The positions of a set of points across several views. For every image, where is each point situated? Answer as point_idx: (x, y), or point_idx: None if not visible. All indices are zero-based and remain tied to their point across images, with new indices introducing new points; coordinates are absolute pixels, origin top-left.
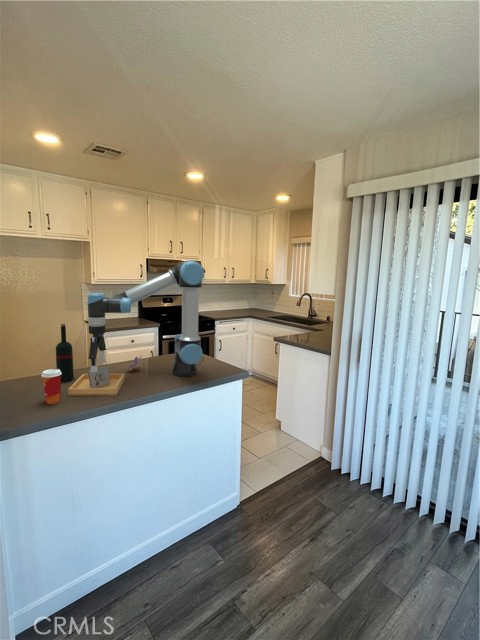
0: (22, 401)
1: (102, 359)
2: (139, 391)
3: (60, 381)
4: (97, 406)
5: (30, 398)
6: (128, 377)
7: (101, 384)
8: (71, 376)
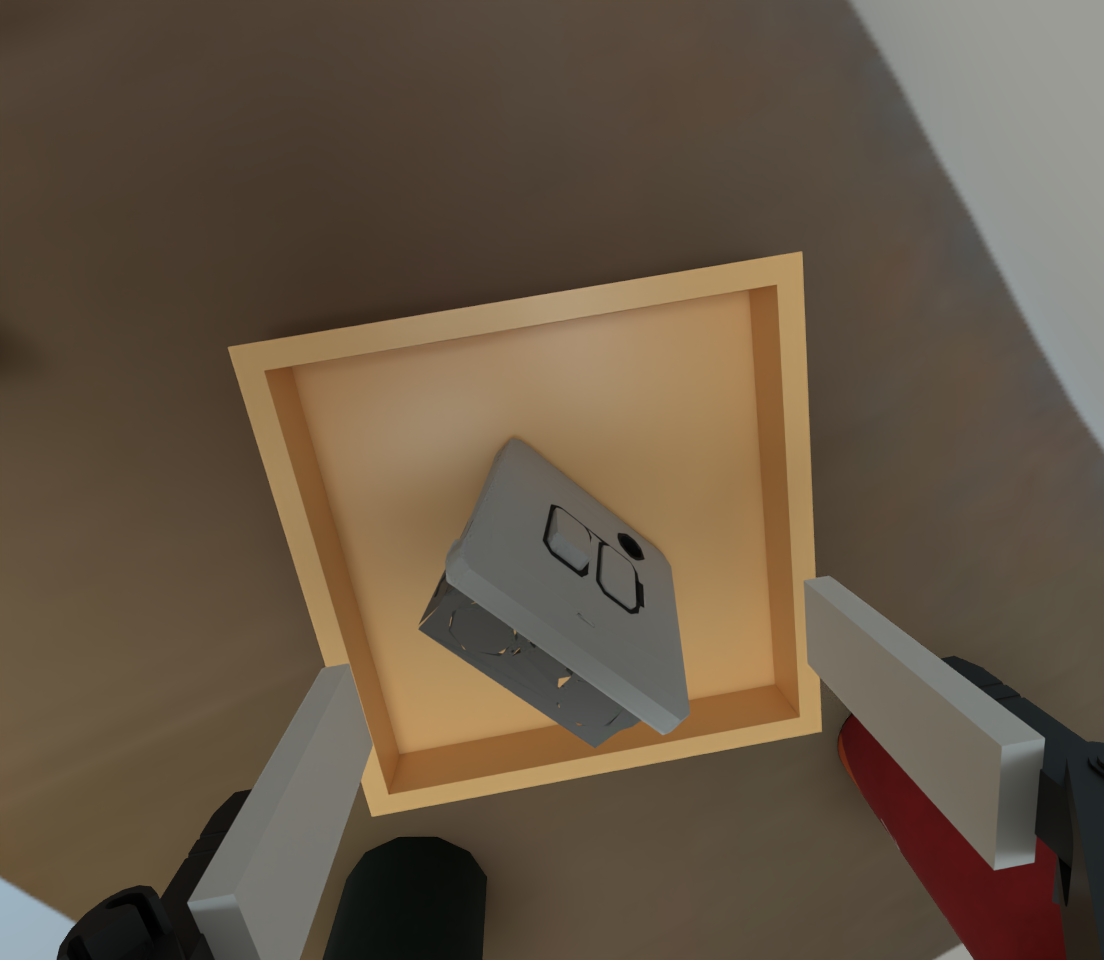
0: (875, 913)
1: (336, 743)
2: (617, 4)
3: (1038, 838)
4: (1009, 343)
5: (824, 900)
6: (166, 331)
7: (593, 506)
8: (424, 881)
